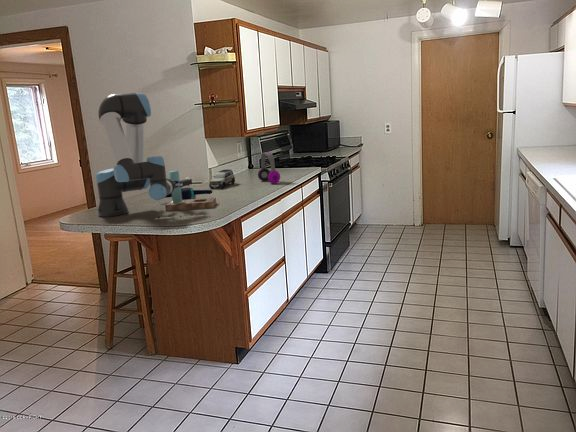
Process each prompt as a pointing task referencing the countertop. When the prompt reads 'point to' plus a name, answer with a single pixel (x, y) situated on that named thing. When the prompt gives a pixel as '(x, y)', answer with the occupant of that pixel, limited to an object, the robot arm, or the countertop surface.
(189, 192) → the toy
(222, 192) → the countertop surface
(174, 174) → the peg
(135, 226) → the countertop surface
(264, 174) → the headphones
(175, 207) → the pocket block
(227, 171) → the toy car
